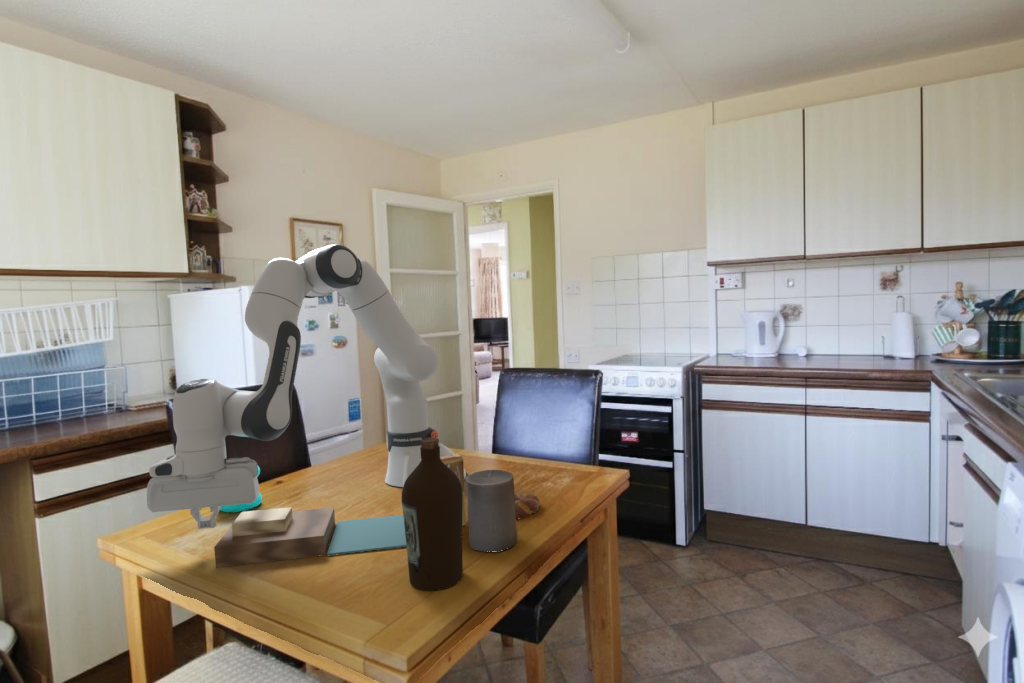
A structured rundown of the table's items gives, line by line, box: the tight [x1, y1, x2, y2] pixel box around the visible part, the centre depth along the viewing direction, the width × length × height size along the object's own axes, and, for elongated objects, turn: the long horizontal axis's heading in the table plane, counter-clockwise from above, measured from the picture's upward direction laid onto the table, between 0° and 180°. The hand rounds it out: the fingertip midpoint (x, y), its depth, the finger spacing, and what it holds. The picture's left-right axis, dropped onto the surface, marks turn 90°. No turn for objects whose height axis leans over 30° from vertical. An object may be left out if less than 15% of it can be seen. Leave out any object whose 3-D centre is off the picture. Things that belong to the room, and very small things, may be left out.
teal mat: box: [326, 514, 407, 557], centre depth 121 cm, size 16×17×1 cm
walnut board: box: [213, 506, 336, 568], centre depth 118 cm, size 20×16×4 cm
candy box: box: [420, 453, 467, 527], centre depth 123 cm, size 9×4×15 cm, turn 116°
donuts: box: [220, 465, 263, 513], centre depth 141 cm, size 10×10×10 cm
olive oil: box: [401, 437, 464, 591], centre depth 100 cm, size 11×11×25 cm
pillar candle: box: [464, 469, 518, 553], centre depth 114 cm, size 10×10×15 cm
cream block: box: [231, 506, 293, 537], centre depth 117 cm, size 10×7×2 cm
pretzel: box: [514, 492, 541, 520], centre depth 132 cm, size 12×11×4 cm
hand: (207, 527), depth 115 cm, fingers closed
